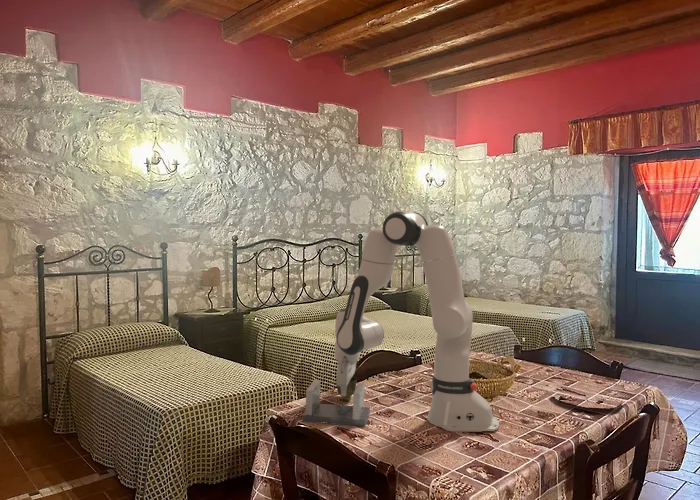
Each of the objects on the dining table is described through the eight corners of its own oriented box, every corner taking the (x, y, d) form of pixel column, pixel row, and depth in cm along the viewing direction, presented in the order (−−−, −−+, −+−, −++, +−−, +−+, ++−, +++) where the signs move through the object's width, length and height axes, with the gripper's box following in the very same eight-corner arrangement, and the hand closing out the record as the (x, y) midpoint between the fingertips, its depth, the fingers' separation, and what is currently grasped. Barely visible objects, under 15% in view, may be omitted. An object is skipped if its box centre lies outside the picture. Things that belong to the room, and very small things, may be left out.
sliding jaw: (319, 403, 184) (320, 380, 184) (311, 415, 172) (312, 390, 172) (313, 402, 184) (314, 379, 184) (305, 414, 172) (306, 390, 172)
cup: (354, 404, 190) (354, 381, 190) (333, 402, 192) (334, 379, 192) (358, 397, 198) (358, 375, 197) (338, 395, 199) (338, 374, 199)
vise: (369, 413, 181) (370, 383, 181) (365, 426, 170) (366, 394, 169) (310, 408, 184) (311, 379, 184) (302, 421, 173) (303, 389, 172)
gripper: (351, 361, 183) (350, 402, 184) (359, 347, 203) (358, 384, 204) (332, 360, 184) (331, 400, 185) (342, 346, 204) (341, 383, 205)
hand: (345, 392), depth 195 cm, fingers closed on cup, 7 cm apart
